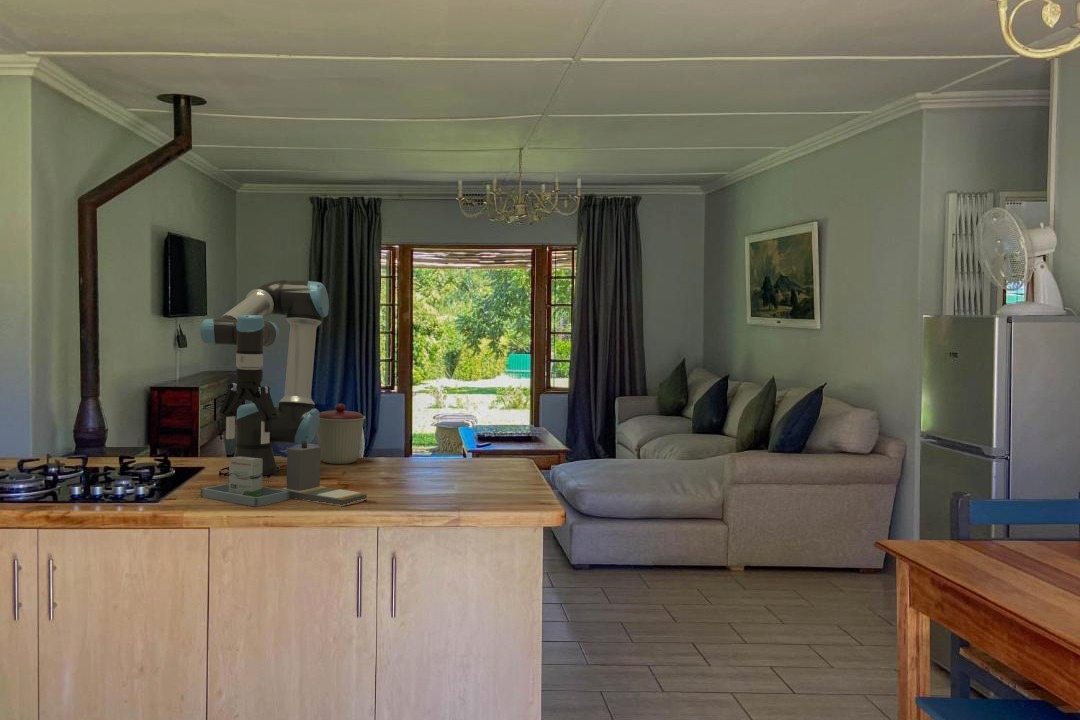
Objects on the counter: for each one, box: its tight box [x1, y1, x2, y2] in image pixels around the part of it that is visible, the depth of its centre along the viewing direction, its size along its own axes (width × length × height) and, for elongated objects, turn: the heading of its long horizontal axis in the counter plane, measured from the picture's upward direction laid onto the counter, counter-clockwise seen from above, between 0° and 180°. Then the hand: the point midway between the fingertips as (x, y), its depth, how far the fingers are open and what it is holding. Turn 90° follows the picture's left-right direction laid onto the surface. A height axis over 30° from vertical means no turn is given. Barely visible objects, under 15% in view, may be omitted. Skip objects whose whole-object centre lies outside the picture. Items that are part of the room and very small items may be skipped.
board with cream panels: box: [279, 485, 368, 505], centre depth 304 cm, size 24×11×2 cm, turn 61°
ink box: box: [228, 456, 263, 497], centre depth 299 cm, size 9×5×12 cm, turn 71°
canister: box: [316, 403, 366, 465], centre depth 368 cm, size 18×18×21 cm
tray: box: [200, 482, 291, 508], centre depth 300 cm, size 22×14×2 cm, turn 61°
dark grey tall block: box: [285, 441, 321, 491], centre depth 307 cm, size 5×9×14 cm, turn 151°
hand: (247, 441), depth 299 cm, fingers open, 13 cm apart
